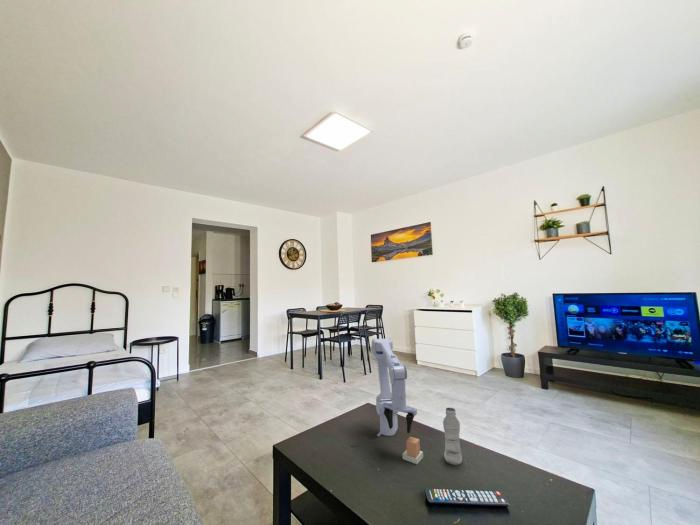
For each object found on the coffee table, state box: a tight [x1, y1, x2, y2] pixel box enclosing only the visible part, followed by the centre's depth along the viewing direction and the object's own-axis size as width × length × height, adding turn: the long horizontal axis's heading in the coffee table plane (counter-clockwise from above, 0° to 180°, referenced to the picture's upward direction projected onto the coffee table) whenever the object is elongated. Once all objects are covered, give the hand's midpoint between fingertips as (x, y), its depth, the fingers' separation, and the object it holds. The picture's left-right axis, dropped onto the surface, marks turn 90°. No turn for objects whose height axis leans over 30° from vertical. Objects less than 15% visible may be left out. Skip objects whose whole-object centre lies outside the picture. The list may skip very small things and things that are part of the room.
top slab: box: [402, 449, 424, 465], centre depth 110 cm, size 6×6×2 cm
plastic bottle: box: [442, 407, 463, 466], centre depth 109 cm, size 6×7×20 cm
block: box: [405, 436, 421, 458], centre depth 110 cm, size 4×4×5 cm
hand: (399, 429), depth 114 cm, fingers open, 7 cm apart
